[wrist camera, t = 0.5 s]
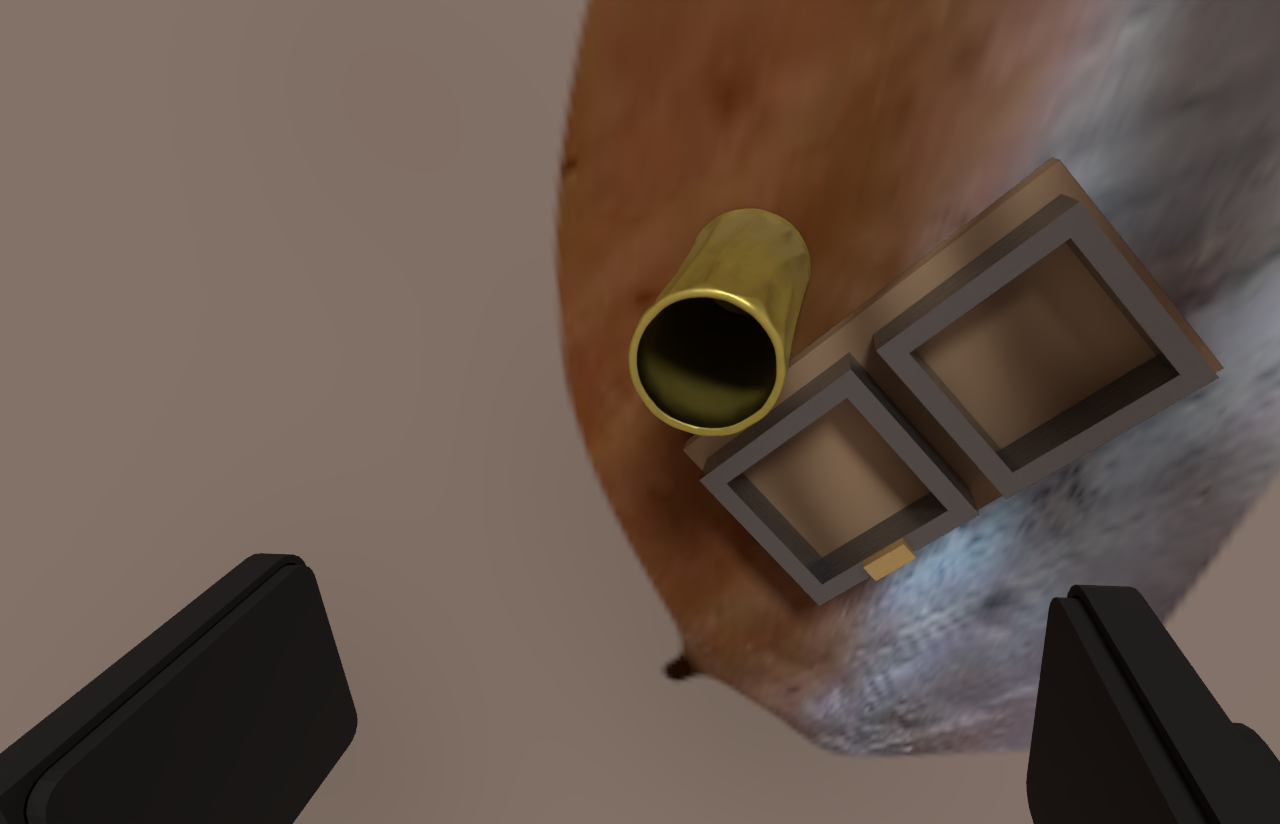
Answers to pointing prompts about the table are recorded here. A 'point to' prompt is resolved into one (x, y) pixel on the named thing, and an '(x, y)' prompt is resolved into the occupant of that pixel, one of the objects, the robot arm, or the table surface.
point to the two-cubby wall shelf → (958, 408)
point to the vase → (723, 326)
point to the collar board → (955, 371)
